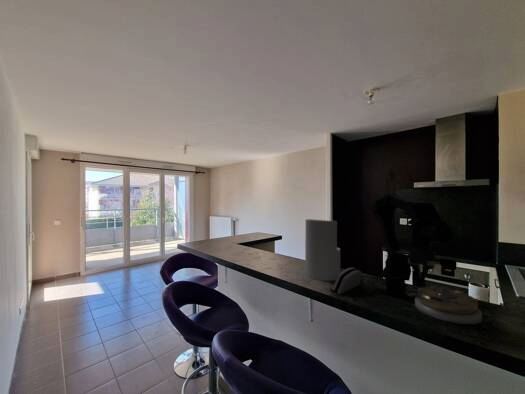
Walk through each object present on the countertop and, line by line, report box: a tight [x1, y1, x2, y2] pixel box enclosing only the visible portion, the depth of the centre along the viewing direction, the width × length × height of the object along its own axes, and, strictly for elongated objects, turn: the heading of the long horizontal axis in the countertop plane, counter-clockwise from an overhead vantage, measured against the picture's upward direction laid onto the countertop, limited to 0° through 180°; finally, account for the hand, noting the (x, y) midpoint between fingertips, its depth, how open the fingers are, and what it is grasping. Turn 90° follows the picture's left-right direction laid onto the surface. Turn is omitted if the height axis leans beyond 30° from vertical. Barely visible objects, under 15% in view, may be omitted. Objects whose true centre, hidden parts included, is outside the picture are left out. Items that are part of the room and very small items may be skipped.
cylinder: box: [304, 218, 341, 282], centre depth 121 cm, size 17×17×28 cm
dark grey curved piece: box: [328, 267, 363, 295], centre depth 102 cm, size 17×5×10 cm, turn 132°
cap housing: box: [414, 295, 483, 325], centre depth 81 cm, size 18×18×2 cm
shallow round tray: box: [417, 285, 479, 315], centre depth 81 cm, size 16×16×7 cm
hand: (421, 284), depth 81 cm, fingers closed
